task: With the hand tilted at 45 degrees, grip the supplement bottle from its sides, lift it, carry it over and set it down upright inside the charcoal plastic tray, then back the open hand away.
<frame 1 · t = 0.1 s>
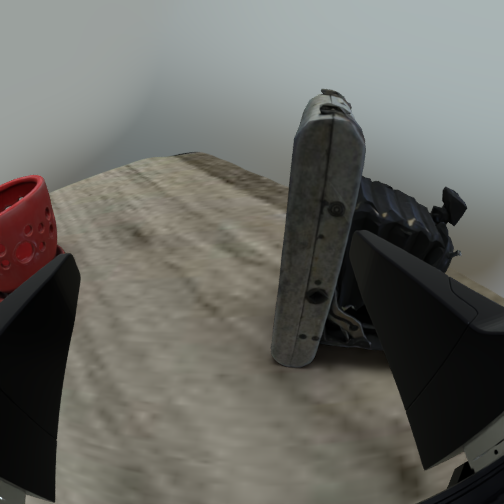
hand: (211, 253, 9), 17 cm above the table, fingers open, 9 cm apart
vintage camera: (358, 334, 27), on the table
plant pot: (30, 282, 33), on the table
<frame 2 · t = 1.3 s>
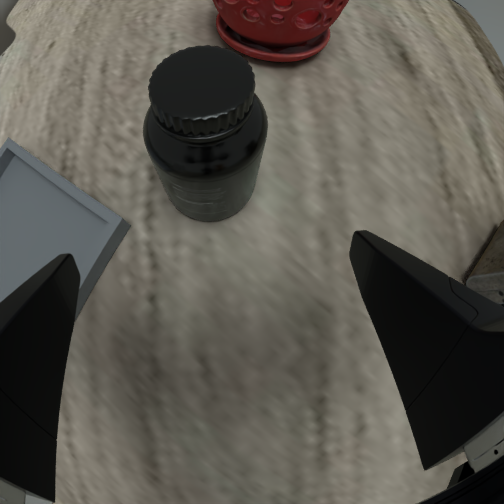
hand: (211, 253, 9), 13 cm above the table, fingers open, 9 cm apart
charcoal tray: (19, 257, 21), on the table
supplement bottle: (210, 181, 24), on the table
plant pot: (268, 32, 27), on the table
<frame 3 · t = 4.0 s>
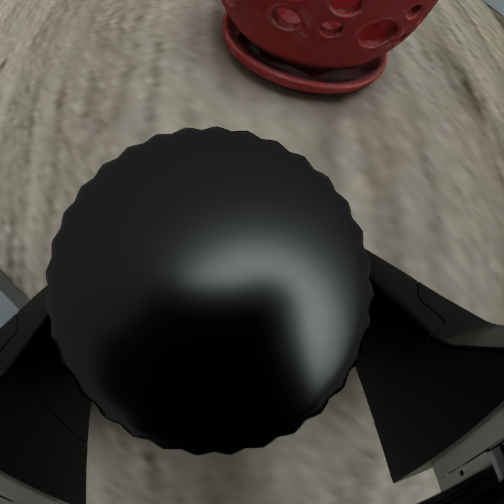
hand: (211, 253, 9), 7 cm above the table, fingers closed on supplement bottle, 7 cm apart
supplement bottle: (219, 301, 16), on the table, touching gripper
plant pot: (298, 44, 19), on the table
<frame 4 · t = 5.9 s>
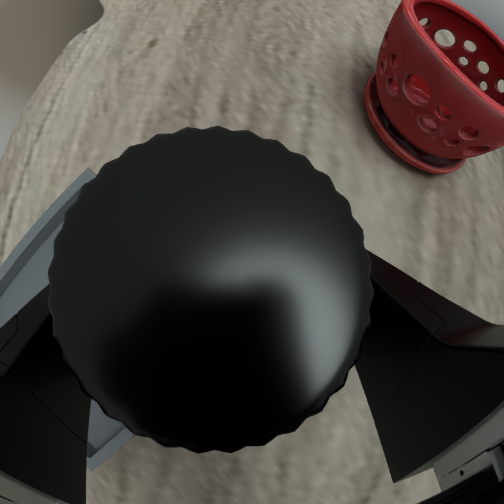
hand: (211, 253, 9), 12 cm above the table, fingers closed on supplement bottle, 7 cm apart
charcoal tray: (88, 325, 20), on the table
supplement bottle: (220, 300, 16), point 5 cm above the table, touching gripper
plant pot: (409, 120, 25), on the table
when the fingers open (8 cm above the table, at t = 8.0 s): supplement bottle drops 1 cm, resting on charcoal tray.
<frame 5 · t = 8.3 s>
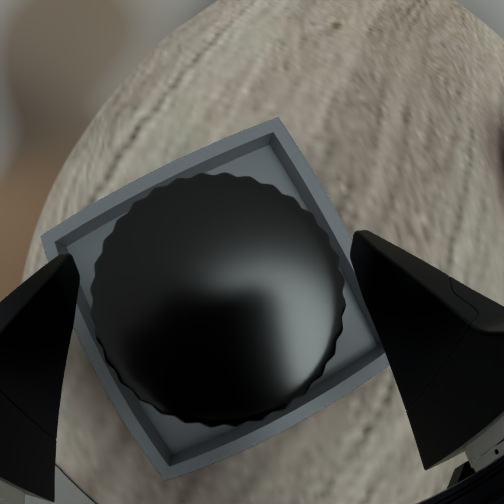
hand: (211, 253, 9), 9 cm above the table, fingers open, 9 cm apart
charcoal tray: (219, 301, 18), on the table
supplement bottle: (221, 304, 17), resting on charcoal tray
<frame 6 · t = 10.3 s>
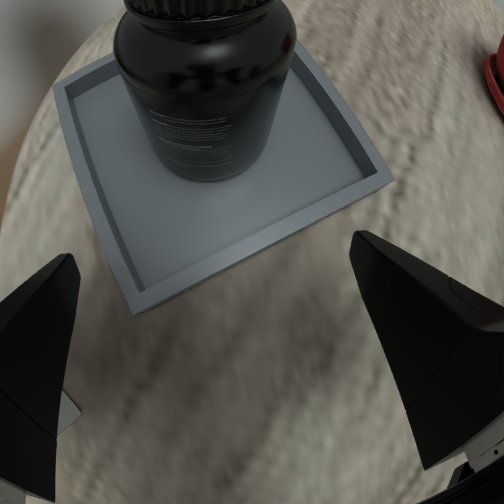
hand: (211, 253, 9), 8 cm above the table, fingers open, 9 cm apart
milk carton: (22, 394, 15), on the table
charcoal tray: (207, 131, 18), on the table
supplement bottle: (209, 131, 17), resting on charcoal tray
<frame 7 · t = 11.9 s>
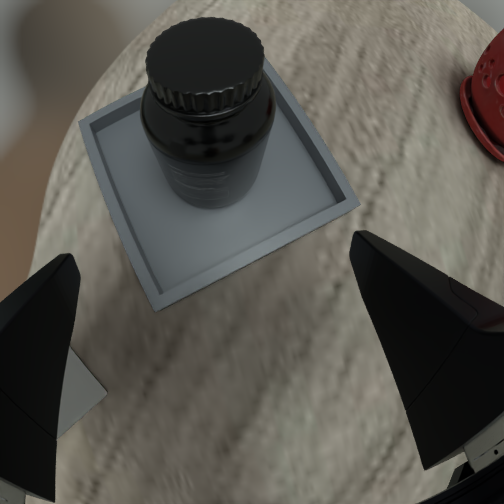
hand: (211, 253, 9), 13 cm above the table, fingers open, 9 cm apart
milk carton: (55, 380, 20), on the table
charcoal tray: (210, 165, 23), on the table
supplement bottle: (211, 165, 22), resting on charcoal tray
plant pot: (486, 120, 27), on the table
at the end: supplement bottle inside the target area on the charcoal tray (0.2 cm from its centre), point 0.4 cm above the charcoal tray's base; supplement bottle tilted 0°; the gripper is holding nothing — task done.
